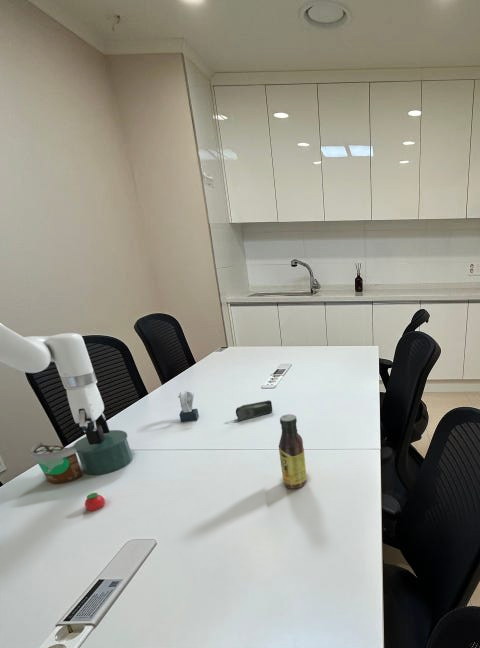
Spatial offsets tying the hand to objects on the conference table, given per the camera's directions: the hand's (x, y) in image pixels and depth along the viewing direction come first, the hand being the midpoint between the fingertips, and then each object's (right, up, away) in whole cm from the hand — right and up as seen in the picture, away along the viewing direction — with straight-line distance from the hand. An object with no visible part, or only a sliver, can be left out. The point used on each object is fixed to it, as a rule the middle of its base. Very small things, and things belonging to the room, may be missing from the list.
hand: (99, 437), depth 113 cm
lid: (0, -1, +1) cm, 1 cm away
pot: (0, -8, +4) cm, 9 cm away
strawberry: (+12, -17, -17) cm, 27 cm away
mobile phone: (+35, +6, +33) cm, 49 cm away
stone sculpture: (+11, +5, +33) cm, 35 cm away
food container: (-8, -12, -4) cm, 15 cm away
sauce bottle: (+59, -12, -9) cm, 61 cm away
